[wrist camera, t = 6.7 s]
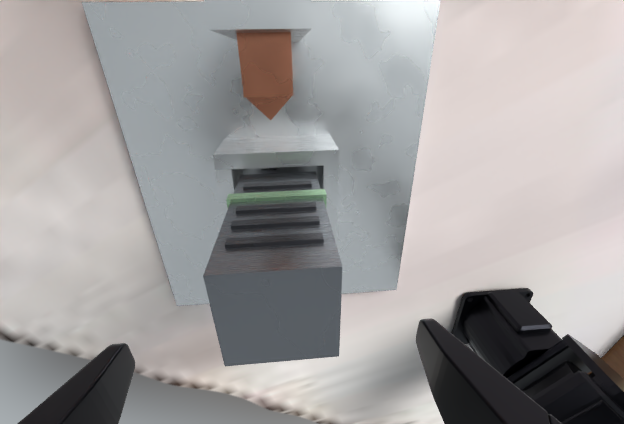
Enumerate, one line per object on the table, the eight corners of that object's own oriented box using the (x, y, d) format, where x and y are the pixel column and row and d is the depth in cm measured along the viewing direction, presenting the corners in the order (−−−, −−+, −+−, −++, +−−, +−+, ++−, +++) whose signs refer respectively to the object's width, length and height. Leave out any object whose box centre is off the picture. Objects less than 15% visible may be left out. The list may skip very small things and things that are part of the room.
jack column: (318, 236, 18) (342, 358, 11) (247, 240, 18) (220, 369, 10) (318, 168, 16) (347, 262, 9) (237, 172, 16) (196, 272, 8)
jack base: (392, 281, 26) (441, 382, 18) (180, 297, 24) (131, 411, 17) (432, 2, 16) (571, -49, 8) (93, 5, 15) (-116, -53, 7)
